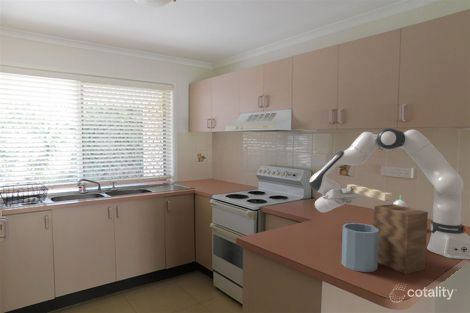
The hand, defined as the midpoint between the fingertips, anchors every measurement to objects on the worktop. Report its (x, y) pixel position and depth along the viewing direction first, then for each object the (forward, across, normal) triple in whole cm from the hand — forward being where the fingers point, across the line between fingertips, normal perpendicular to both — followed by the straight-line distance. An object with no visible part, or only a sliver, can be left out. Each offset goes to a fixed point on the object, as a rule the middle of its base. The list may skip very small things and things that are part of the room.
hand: (355, 187), depth 148 cm
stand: (+3, +4, +36) cm, 37 cm away
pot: (-2, -12, +34) cm, 36 cm away
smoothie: (-29, +53, +18) cm, 63 cm away
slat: (+5, 0, +6) cm, 8 cm away
